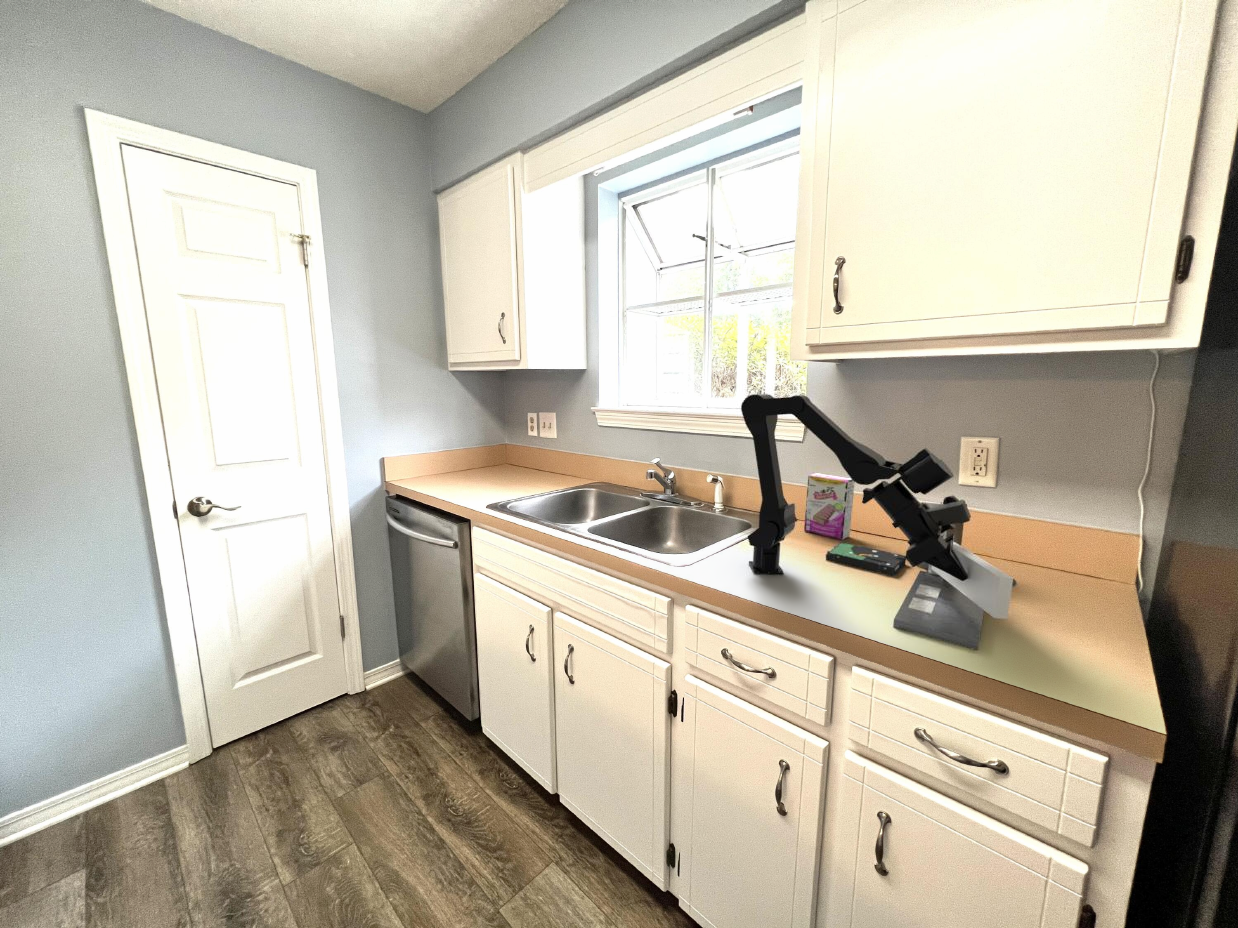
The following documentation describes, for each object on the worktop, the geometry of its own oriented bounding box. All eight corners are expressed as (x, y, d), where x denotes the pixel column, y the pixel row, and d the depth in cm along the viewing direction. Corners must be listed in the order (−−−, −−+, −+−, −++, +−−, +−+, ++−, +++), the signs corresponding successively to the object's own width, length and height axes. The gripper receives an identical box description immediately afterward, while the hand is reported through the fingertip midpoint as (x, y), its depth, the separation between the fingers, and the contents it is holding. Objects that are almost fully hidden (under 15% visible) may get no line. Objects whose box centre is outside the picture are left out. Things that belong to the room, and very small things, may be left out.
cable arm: (925, 570, 105) (930, 528, 104) (945, 571, 105) (950, 529, 103) (991, 623, 82) (999, 571, 81) (1018, 625, 82) (1025, 572, 80)
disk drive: (905, 566, 117) (840, 551, 127) (906, 555, 117) (841, 540, 127) (893, 579, 110) (824, 561, 120) (894, 567, 109) (825, 550, 119)
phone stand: (893, 626, 87) (900, 555, 85) (919, 576, 110) (925, 519, 107) (977, 650, 80) (987, 572, 78) (987, 591, 102) (995, 529, 100)
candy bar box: (803, 531, 142) (807, 474, 139) (811, 528, 145) (815, 472, 143) (842, 540, 134) (847, 480, 131) (850, 536, 137) (855, 478, 135)
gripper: (936, 492, 83) (1009, 572, 78) (948, 475, 97) (1011, 542, 93) (878, 528, 89) (943, 604, 84) (898, 508, 104) (954, 571, 99)
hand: (965, 578), depth 90 cm, fingers closed
